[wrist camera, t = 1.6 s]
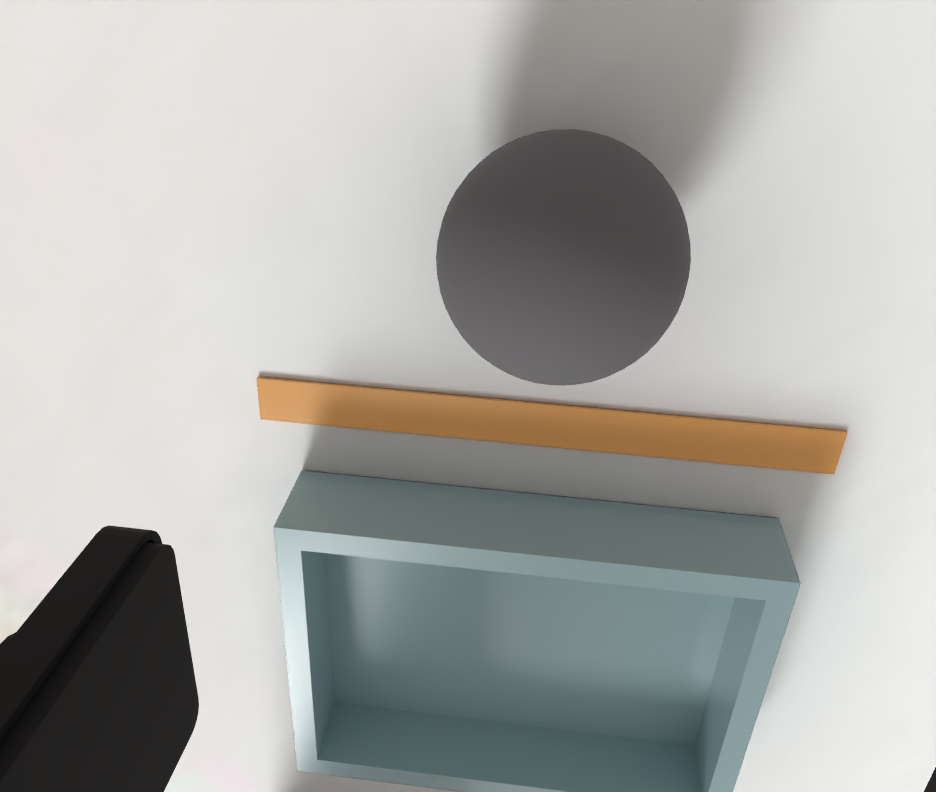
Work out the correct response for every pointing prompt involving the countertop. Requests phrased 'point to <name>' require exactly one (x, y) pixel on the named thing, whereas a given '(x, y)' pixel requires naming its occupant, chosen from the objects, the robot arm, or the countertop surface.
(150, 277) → the countertop surface
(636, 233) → the ball
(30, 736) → the robot arm
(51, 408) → the countertop surface
